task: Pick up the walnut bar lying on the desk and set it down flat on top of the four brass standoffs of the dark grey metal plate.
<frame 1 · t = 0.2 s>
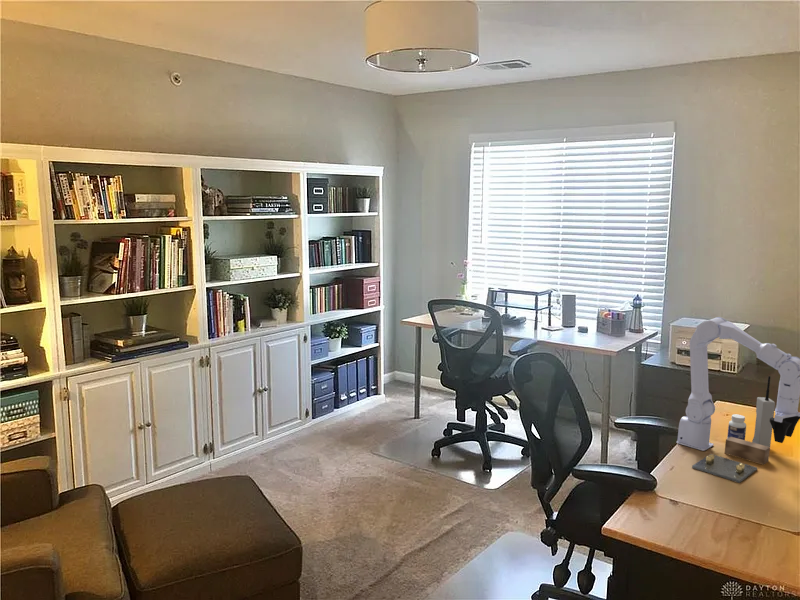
hand: (783, 438, 201), 10 cm above the table, tool pointing down, fingers open, 7 cm apart
vintage mobile phone: (760, 447, 220), on the table
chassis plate: (724, 468, 202), on the table
walnut bar: (746, 457, 212), on the table
pill bottle: (735, 443, 224), on the table
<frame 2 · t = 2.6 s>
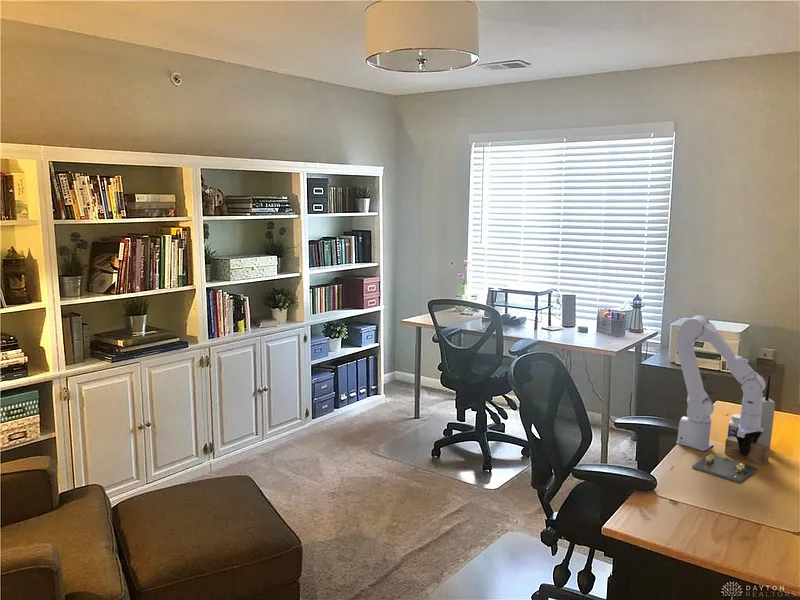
hand: (746, 453, 211), 1 cm above the table, tool pointing down, fingers closed on walnut bar, 4 cm apart
walnut bar: (746, 457, 212), on the table, touching gripper
everything else where it was.
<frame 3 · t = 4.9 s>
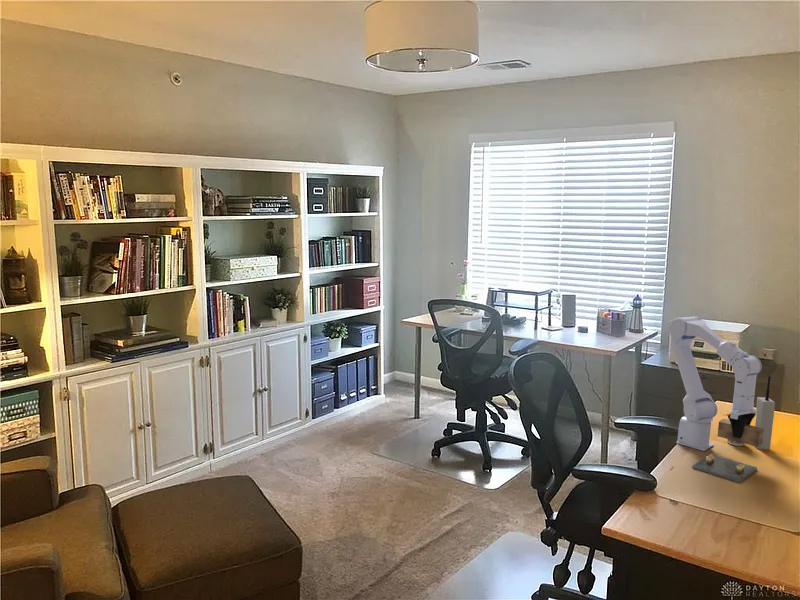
hand: (739, 435, 206), 9 cm above the table, tool pointing down, fingers closed on walnut bar, 4 cm apart
walnut bar: (739, 440, 206), point 7 cm above the table, touching gripper
everything else where it was.
when the fingers open (5 cm above the table, at t = 7.2 s): walnut bar stays where it is, resting on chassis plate.
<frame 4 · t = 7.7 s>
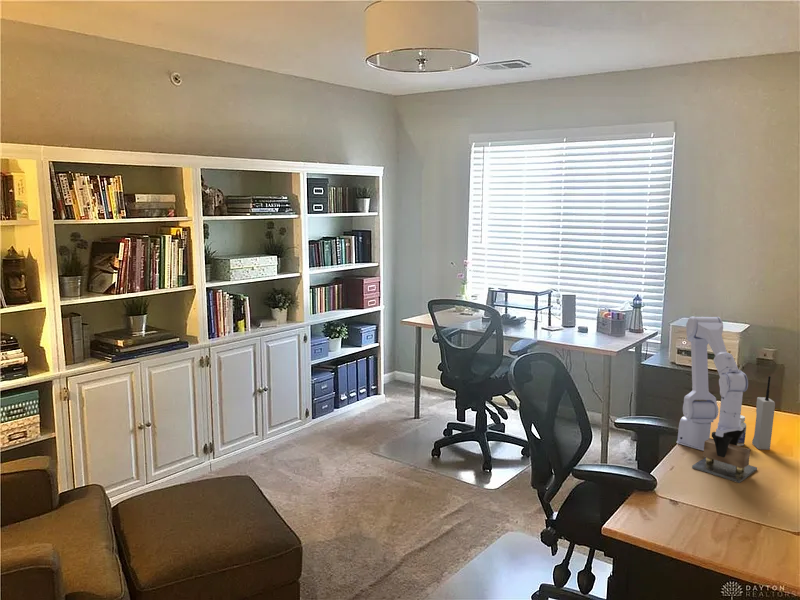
hand: (726, 453, 202), 5 cm above the table, tool pointing down, fingers open, 7 cm apart
walnut bar: (725, 460, 202), point 3 cm above the table, touching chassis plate
everything else where it was.
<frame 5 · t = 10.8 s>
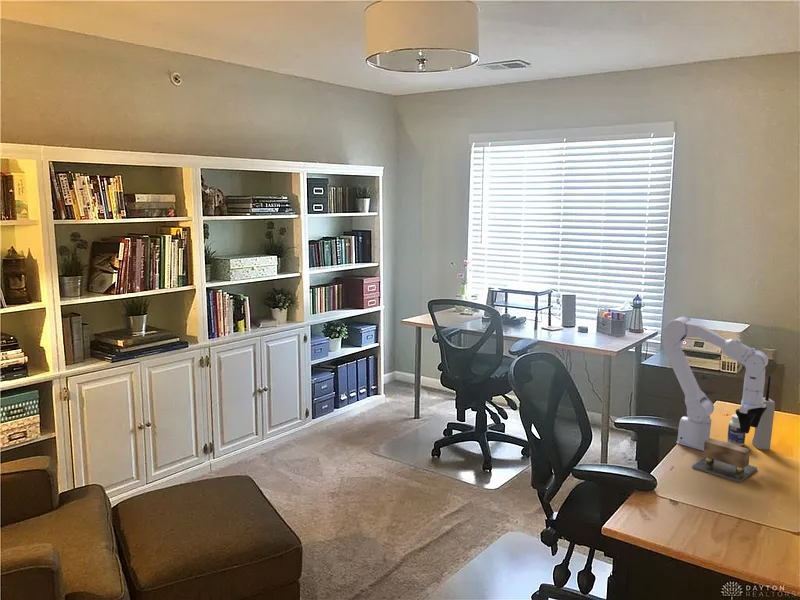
hand: (749, 429, 210), 9 cm above the table, tool pointing down, fingers open, 7 cm apart
nothing on the table moved.
at the end: walnut bar 0.1 cm off-centre on the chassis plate, point 2.8 cm above the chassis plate's base; walnut bar tilted 0°; the gripper is holding nothing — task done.
